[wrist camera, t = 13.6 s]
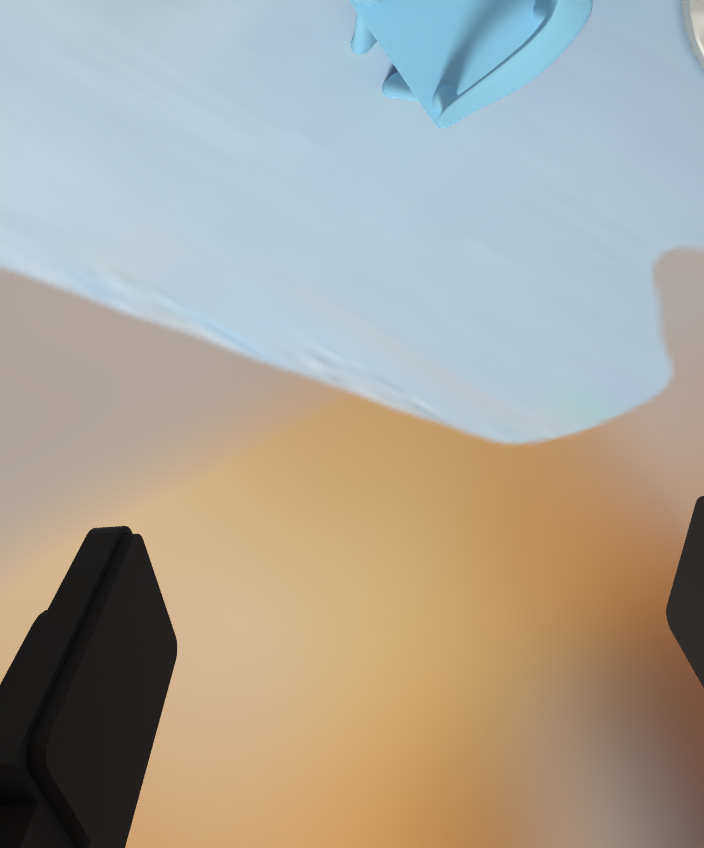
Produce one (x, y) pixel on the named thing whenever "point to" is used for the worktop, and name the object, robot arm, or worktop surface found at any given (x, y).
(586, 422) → the worktop surface
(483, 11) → the chair
